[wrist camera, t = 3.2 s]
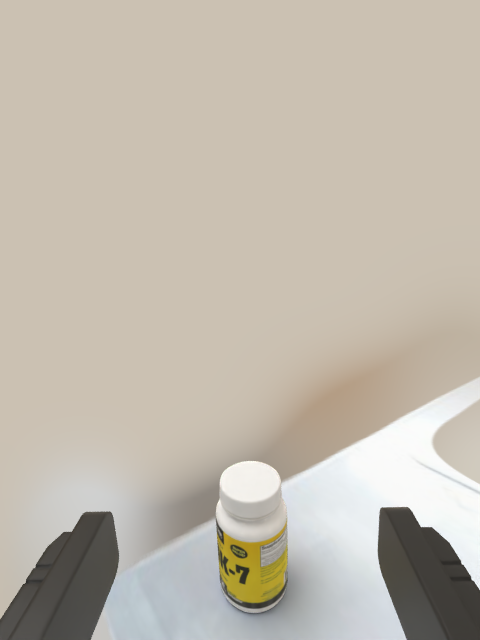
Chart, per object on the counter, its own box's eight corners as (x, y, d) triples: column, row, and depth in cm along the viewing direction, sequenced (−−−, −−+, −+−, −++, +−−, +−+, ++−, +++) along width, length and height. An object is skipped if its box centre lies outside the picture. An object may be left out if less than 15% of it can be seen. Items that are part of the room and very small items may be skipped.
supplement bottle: (207, 576, 26) (199, 475, 24) (257, 541, 28) (254, 447, 26) (249, 633, 22) (243, 519, 20) (302, 586, 25) (302, 481, 23)
